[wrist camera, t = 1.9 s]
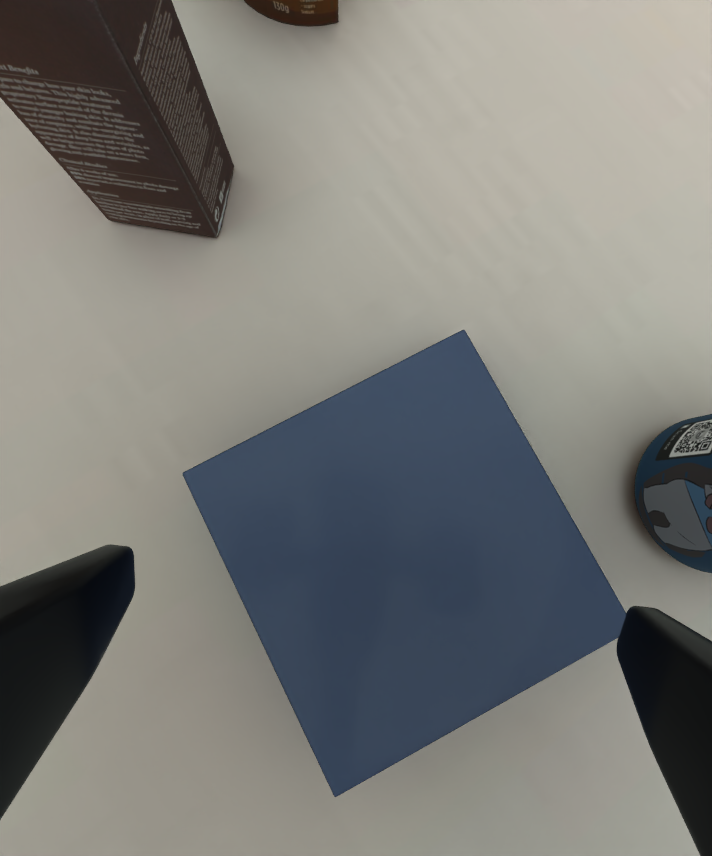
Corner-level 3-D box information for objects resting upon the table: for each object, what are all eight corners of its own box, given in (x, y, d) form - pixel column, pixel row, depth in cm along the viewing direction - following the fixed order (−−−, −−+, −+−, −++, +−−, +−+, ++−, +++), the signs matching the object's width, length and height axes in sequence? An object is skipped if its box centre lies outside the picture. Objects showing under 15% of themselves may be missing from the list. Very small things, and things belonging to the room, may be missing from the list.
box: (237, 161, 25) (129, -136, 13) (218, 241, 25) (89, 6, 13) (124, 142, 25) (-82, -167, 13) (103, 222, 25) (-131, -28, 13)
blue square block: (598, 610, 22) (635, 628, 19) (337, 756, 21) (334, 798, 19) (451, 348, 24) (464, 328, 21) (203, 475, 23) (181, 473, 20)
